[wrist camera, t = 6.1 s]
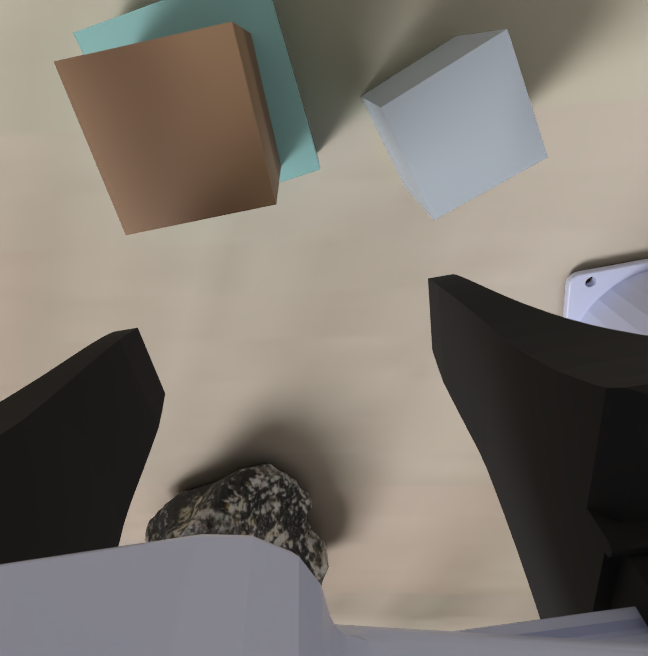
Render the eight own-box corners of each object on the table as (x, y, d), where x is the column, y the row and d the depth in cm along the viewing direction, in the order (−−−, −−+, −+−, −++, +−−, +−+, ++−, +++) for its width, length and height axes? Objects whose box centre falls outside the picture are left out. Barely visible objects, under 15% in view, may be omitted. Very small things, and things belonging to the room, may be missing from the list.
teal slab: (267, -19, 17) (260, -37, 14) (316, 152, 20) (320, 169, 17) (112, 37, 17) (72, 32, 14) (182, 195, 20) (162, 219, 17)
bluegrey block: (455, 36, 18) (507, 28, 13) (491, 135, 19) (547, 157, 15) (360, 96, 18) (380, 107, 14) (403, 186, 20) (433, 220, 16)
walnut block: (251, 33, 14) (231, 21, 10) (281, 166, 16) (275, 204, 12) (125, 61, 15) (53, 61, 10) (170, 189, 17) (125, 234, 12)
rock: (116, 437, 28) (48, 631, 24) (237, 446, 23) (175, 695, 19) (255, 480, 38) (222, 623, 34) (361, 493, 33) (339, 664, 29)
